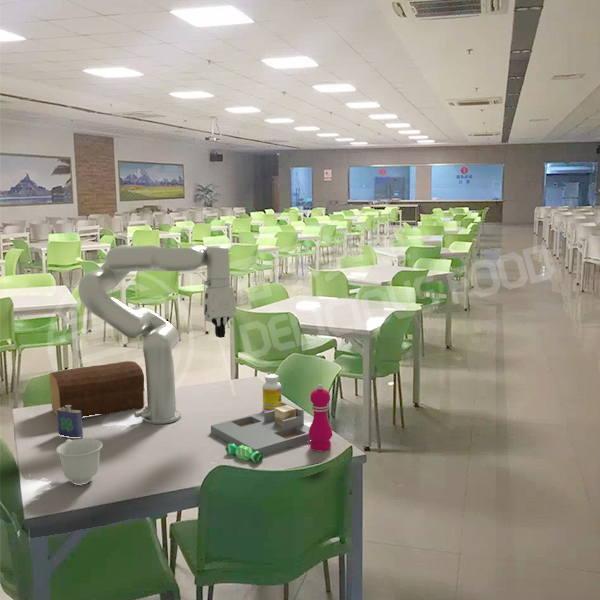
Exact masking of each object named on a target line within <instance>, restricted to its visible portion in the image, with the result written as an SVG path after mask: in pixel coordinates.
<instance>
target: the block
mask: <svg viewBox="0 0 600 600" xmlns="http://www.w3.org/2000/svg"><path fill="white" fill-rule="evenodd" d="M292 417H296V409H295V408H293V407H291V406H288V405H285V406H281V407H277V408H275V423H277V424H279V425H281V426H282V420H285V419H288V418H292Z"/></svg>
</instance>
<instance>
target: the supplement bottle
mask: <svg viewBox="0 0 600 600" xmlns="http://www.w3.org/2000/svg"><path fill="white" fill-rule="evenodd" d="M264 381H265V382H263V383H262V412H265V411H269V410H275V408H277V407H281V402H282V384H281V383H280V381H279V375H277V374H275V373H274V374H273V373H272V374H271V373H270V374H266V375H265V376H264Z"/></svg>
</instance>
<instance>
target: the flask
mask: <svg viewBox="0 0 600 600" xmlns="http://www.w3.org/2000/svg"><path fill="white" fill-rule="evenodd" d="M65 407H67V408H64V407H63V408H59V409H57V415H56V417H57V431H58V432H57V433H59V434H60V435H64V436H69V437H81V438H82V437H83V438H84V430H83V418H82V413H81V411H80V410H70V409H71V405H70V406H69V405H65Z"/></svg>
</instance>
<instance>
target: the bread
mask: <svg viewBox="0 0 600 600" xmlns="http://www.w3.org/2000/svg"><path fill="white" fill-rule="evenodd" d="M48 379H49V386H50V387H49V388H50V398H51V400H50V401H51V410H52V411H53V412H54V414H55V415H56V416H57V409H59V408H63V407H64V408H67V407H65V405H69V406H70V405H71V409H70V410H80V411H81V413H82V417H83V416H89V415H95V414H105V415H110V414H109V413H111V414H115V413H121V412H125V411H131V410H137V409H141V408H145V394H144V392H145V391H144V388H145V386H144V385H145V374H144V371H143V368H142V367H141V366H140V365H139V364H138V363H137V362H136V361H133V360H126V361H118V362H114V363H113V362H112V363H106V364H99V365H91V366H90V365H89V366H83V367H75V368H71V369H63V370H58V371H54V372H50V373H49V377H48Z"/></svg>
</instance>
